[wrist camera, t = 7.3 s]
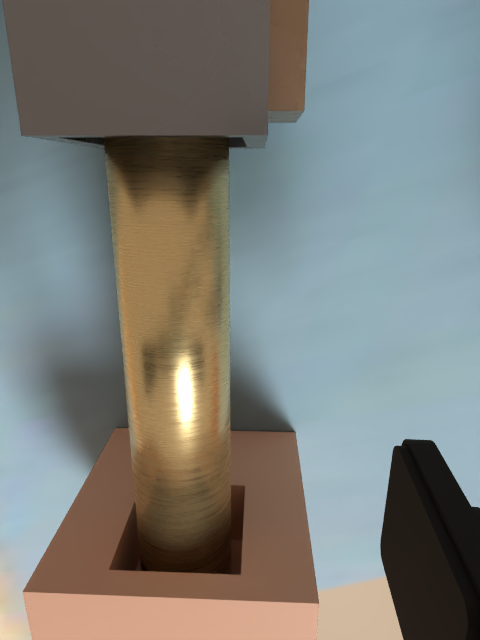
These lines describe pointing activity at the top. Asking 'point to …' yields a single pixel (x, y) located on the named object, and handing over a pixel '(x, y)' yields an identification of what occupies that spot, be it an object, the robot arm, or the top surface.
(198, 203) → the tube
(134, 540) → the socket
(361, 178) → the top surface
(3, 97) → the top surface
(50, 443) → the top surface
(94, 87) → the grey block
